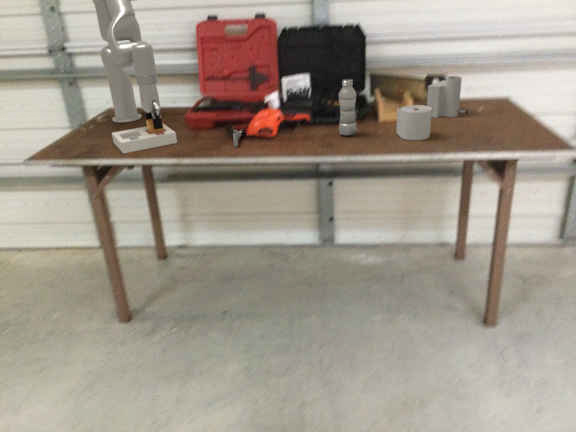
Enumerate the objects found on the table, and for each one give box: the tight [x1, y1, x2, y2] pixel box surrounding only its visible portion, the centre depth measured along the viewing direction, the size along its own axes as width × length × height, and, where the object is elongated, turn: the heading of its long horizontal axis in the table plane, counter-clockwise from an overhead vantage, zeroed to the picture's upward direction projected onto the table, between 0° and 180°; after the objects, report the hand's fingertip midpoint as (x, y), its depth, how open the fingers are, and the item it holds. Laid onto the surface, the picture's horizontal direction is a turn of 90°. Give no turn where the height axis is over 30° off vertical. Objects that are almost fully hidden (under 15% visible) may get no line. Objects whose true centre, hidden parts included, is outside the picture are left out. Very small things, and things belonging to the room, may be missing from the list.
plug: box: [145, 119, 164, 134], centre depth 194 cm, size 5×5×8 cm
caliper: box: [232, 129, 242, 148], centre depth 190 cm, size 20×1×6 cm, turn 175°
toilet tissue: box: [395, 104, 432, 141], centre depth 181 cm, size 11×12×10 cm
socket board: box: [111, 123, 178, 154], centre depth 193 cm, size 16×20×5 cm
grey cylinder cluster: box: [426, 75, 469, 119], centre depth 202 cm, size 12×14×15 cm
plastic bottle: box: [338, 78, 357, 136], centre depth 184 cm, size 6×7×20 cm
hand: (154, 125), depth 193 cm, fingers open, 9 cm apart
